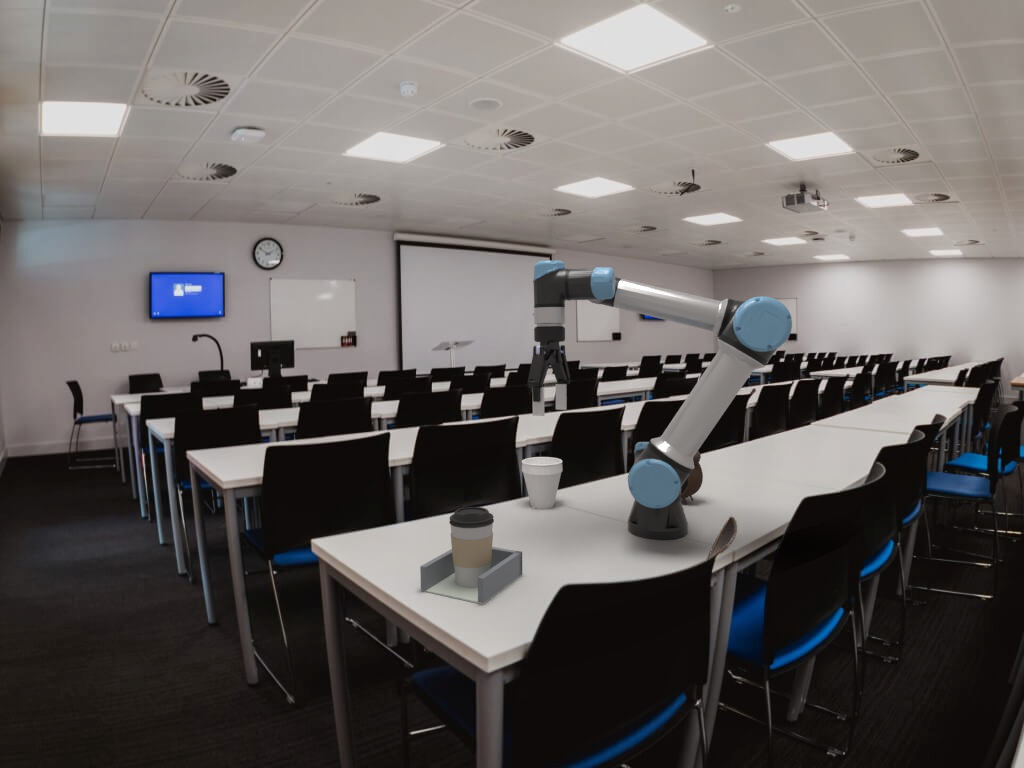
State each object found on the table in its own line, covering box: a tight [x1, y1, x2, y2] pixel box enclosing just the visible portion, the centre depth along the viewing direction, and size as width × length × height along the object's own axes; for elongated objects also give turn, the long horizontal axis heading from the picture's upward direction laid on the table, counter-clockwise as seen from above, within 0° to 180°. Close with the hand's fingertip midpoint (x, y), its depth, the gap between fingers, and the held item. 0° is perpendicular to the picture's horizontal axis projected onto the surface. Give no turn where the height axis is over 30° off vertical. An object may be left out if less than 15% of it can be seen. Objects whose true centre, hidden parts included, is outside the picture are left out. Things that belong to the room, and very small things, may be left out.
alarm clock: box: [681, 450, 704, 506], centre depth 185 cm, size 15×7×20 cm, turn 42°
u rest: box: [419, 546, 523, 605], centre depth 124 cm, size 14×16×5 cm
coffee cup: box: [449, 506, 495, 588], centre depth 124 cm, size 9×9×15 cm
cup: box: [521, 456, 563, 510], centre depth 182 cm, size 12×12×14 cm
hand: (550, 412), depth 149 cm, fingers open, 13 cm apart
